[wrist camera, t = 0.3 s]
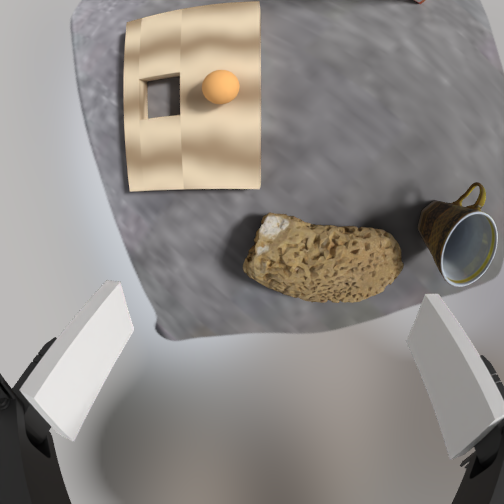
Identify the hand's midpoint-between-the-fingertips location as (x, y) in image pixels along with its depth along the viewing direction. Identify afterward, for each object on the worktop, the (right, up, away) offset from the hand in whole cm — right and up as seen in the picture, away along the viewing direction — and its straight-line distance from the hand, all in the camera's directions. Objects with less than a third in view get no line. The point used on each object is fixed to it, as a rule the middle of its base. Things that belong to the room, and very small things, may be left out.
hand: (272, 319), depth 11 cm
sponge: (+9, +3, +27) cm, 29 cm away
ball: (-4, +20, +14) cm, 25 cm away
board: (-8, +22, +19) cm, 30 cm away
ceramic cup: (+26, +9, +22) cm, 36 cm away
